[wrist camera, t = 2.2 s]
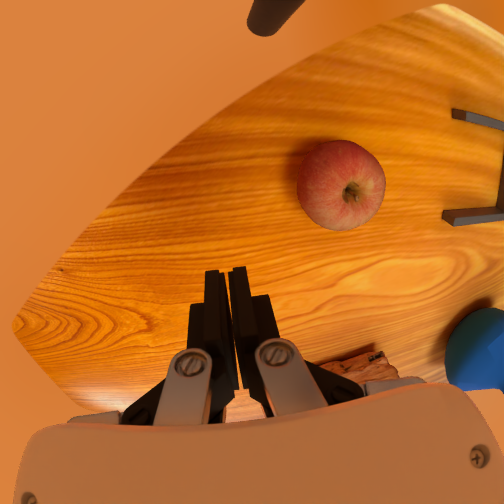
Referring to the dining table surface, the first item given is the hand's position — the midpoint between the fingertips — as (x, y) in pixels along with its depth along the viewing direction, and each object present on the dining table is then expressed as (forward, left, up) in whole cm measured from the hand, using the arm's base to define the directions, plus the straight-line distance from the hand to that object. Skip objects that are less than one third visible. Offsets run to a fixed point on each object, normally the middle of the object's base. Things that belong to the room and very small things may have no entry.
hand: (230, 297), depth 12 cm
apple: (0, +10, -17) cm, 20 cm away
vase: (+32, +44, -17) cm, 57 cm away
